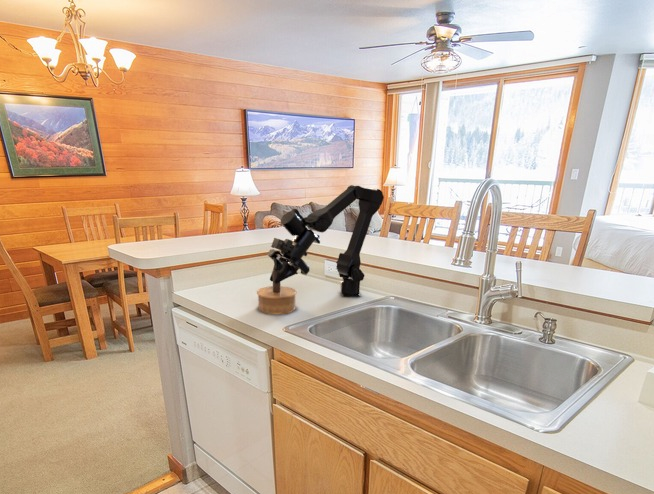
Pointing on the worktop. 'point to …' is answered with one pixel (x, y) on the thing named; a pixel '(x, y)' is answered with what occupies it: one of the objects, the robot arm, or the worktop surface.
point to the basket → (276, 305)
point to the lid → (276, 290)
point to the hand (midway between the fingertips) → (272, 281)
